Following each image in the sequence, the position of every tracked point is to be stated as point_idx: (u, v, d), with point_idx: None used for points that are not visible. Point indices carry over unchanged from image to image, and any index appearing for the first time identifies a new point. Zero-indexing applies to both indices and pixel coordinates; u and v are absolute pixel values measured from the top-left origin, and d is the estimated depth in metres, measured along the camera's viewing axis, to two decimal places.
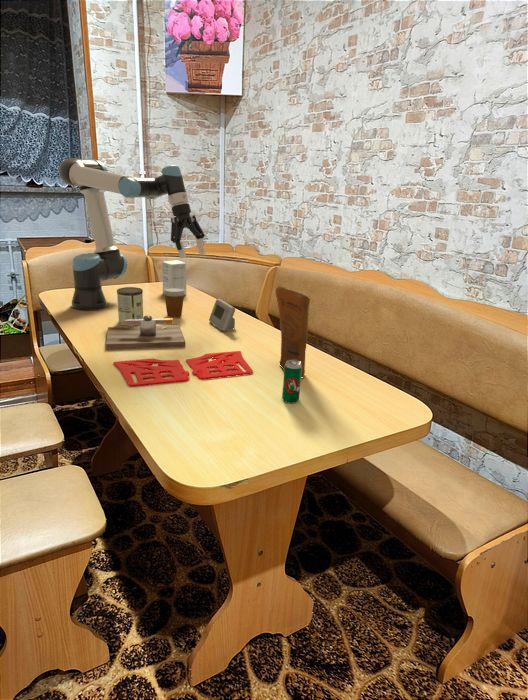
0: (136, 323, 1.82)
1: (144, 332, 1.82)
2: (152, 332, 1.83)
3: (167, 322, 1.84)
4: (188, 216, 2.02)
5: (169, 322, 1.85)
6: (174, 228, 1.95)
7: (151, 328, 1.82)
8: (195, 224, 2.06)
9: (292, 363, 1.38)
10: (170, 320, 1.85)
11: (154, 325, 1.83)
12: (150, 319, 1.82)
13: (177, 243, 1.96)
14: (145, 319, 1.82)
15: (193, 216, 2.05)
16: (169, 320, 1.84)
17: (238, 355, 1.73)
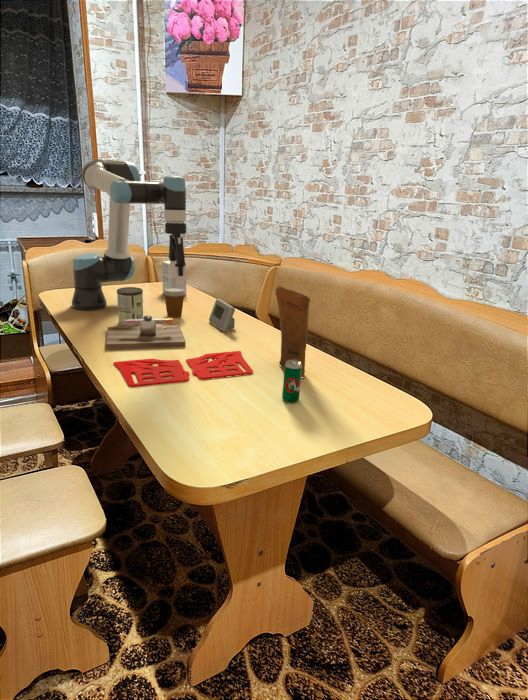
0: (136, 323, 1.82)
1: (144, 332, 1.82)
2: (152, 332, 1.83)
3: (167, 322, 1.84)
4: None
5: (169, 322, 1.85)
6: (181, 251, 1.68)
7: (151, 328, 1.82)
8: None
9: (292, 363, 1.38)
10: (170, 320, 1.85)
11: (154, 325, 1.83)
12: (150, 319, 1.82)
13: (181, 268, 1.70)
14: (145, 319, 1.82)
15: None
16: (169, 320, 1.84)
17: (238, 355, 1.73)
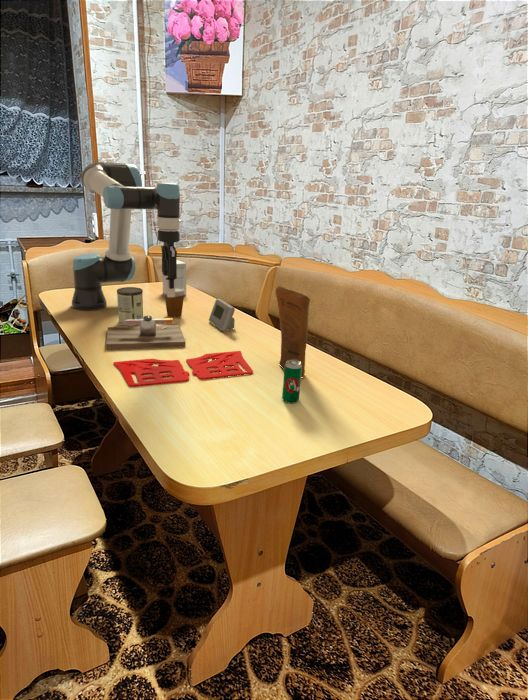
0: (136, 323, 1.82)
1: (144, 332, 1.82)
2: (152, 332, 1.83)
3: (167, 322, 1.84)
4: None
5: (169, 322, 1.85)
6: (173, 265, 1.67)
7: (151, 328, 1.82)
8: None
9: (292, 363, 1.38)
10: (170, 320, 1.85)
11: (154, 325, 1.83)
12: (150, 319, 1.82)
13: (172, 281, 1.70)
14: (145, 319, 1.82)
15: None
16: (169, 320, 1.84)
17: (238, 355, 1.73)
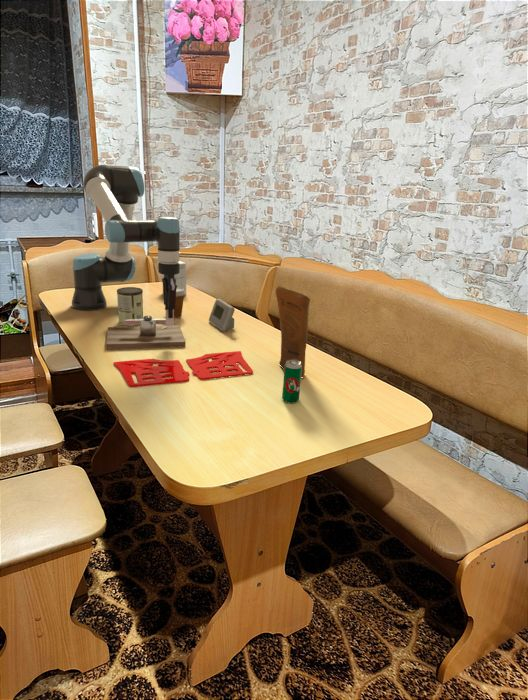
0: (136, 323, 1.82)
1: (144, 332, 1.82)
2: (152, 332, 1.83)
3: None
4: None
5: None
6: (173, 297, 1.72)
7: (151, 328, 1.82)
8: None
9: (292, 363, 1.38)
10: None
11: (154, 325, 1.83)
12: (150, 319, 1.82)
13: (171, 311, 1.76)
14: (145, 319, 1.82)
15: None
16: None
17: (238, 355, 1.73)
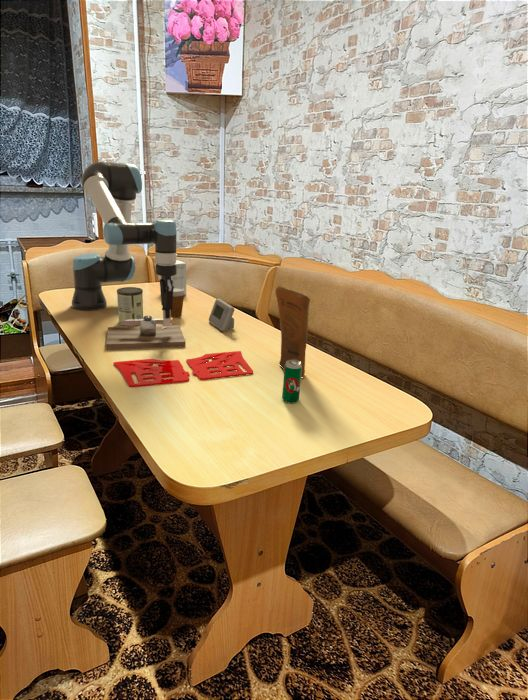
0: (136, 323, 1.81)
1: (144, 332, 1.82)
2: (152, 332, 1.83)
3: None
4: None
5: None
6: (170, 298, 1.76)
7: (151, 328, 1.82)
8: None
9: (292, 363, 1.38)
10: None
11: (154, 325, 1.83)
12: (150, 319, 1.82)
13: (168, 311, 1.81)
14: (145, 319, 1.82)
15: None
16: None
17: (238, 355, 1.73)
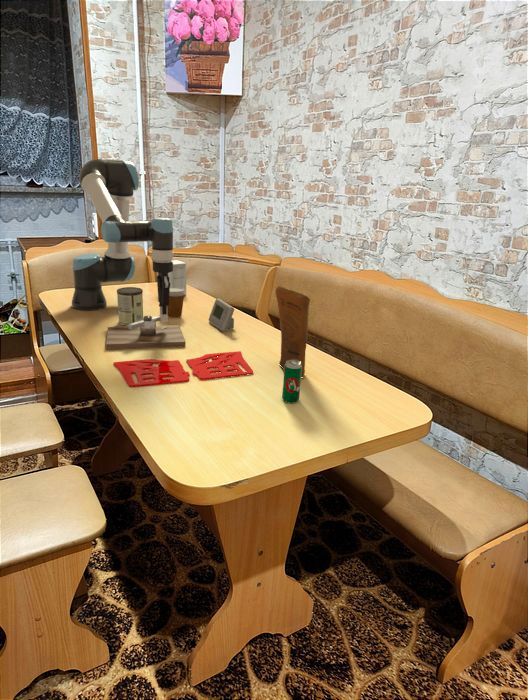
0: (141, 325, 1.80)
1: (150, 332, 1.82)
2: (155, 331, 1.84)
3: None
4: None
5: None
6: (166, 294, 1.80)
7: (155, 327, 1.84)
8: None
9: (292, 363, 1.38)
10: None
11: None
12: (151, 318, 1.83)
13: (165, 307, 1.84)
14: (148, 319, 1.82)
15: None
16: None
17: (238, 356, 1.73)
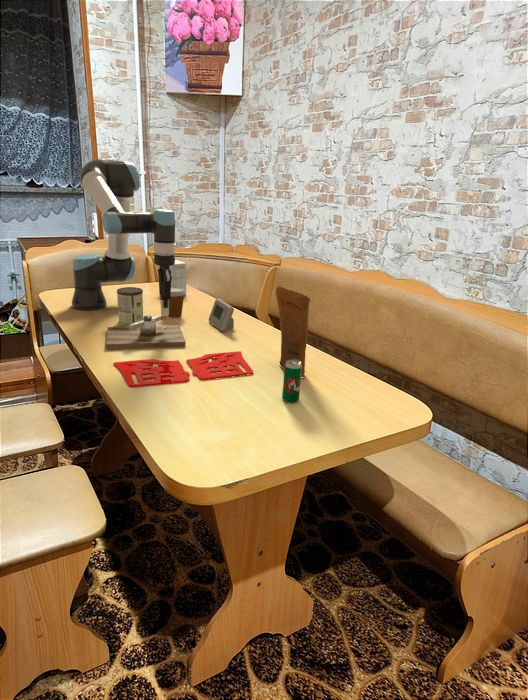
0: (141, 325, 1.80)
1: (150, 332, 1.82)
2: (155, 330, 1.85)
3: (162, 318, 1.89)
4: None
5: (164, 318, 1.90)
6: (168, 288, 1.77)
7: (155, 327, 1.84)
8: None
9: (292, 363, 1.38)
10: (164, 316, 1.90)
11: None
12: (151, 318, 1.83)
13: (166, 301, 1.82)
14: (148, 319, 1.82)
15: None
16: (164, 316, 1.89)
17: (238, 356, 1.73)
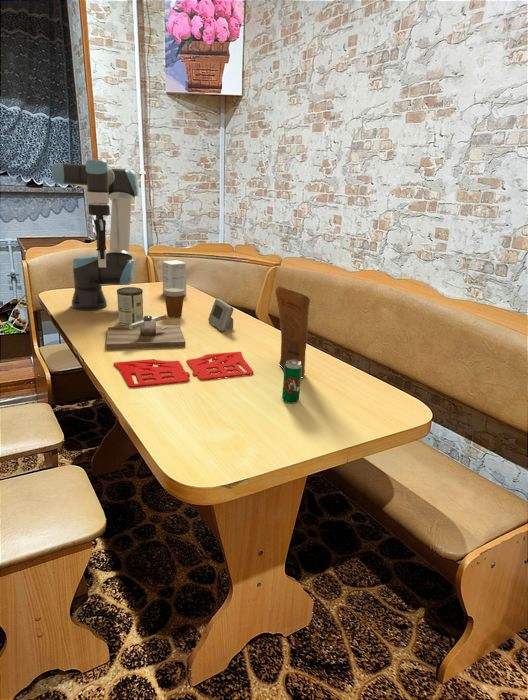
0: (141, 325, 1.80)
1: (150, 332, 1.82)
2: (155, 330, 1.85)
3: (162, 318, 1.89)
4: None
5: (164, 318, 1.90)
6: (102, 237, 1.80)
7: (155, 327, 1.84)
8: None
9: (292, 363, 1.38)
10: (164, 316, 1.90)
11: None
12: (151, 318, 1.83)
13: (102, 252, 1.85)
14: (148, 319, 1.82)
15: None
16: (164, 316, 1.89)
17: (238, 356, 1.72)
